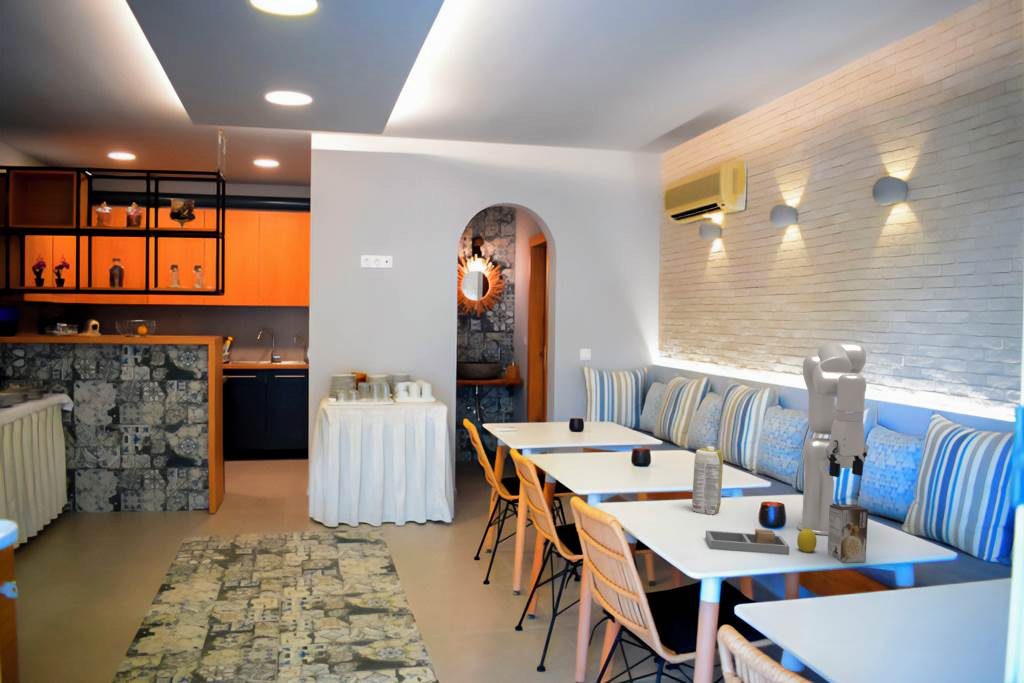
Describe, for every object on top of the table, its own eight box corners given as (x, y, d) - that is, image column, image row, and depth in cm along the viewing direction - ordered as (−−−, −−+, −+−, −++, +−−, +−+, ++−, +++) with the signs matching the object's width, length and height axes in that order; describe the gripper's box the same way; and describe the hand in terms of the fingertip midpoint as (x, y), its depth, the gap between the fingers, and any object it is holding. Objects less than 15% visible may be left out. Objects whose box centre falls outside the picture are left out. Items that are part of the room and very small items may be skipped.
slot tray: (705, 541, 258) (705, 530, 258) (779, 546, 256) (780, 535, 255) (710, 552, 246) (711, 540, 246) (788, 558, 244) (789, 546, 243)
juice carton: (721, 512, 299) (725, 447, 298) (714, 516, 292) (718, 449, 291) (697, 508, 304) (700, 444, 303) (689, 511, 297) (693, 446, 296)
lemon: (811, 551, 252) (812, 526, 251) (818, 557, 246) (820, 530, 246) (793, 551, 252) (795, 525, 251) (800, 556, 246) (802, 530, 246)
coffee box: (851, 555, 249) (855, 503, 249) (866, 562, 243) (869, 508, 243) (826, 556, 247) (829, 504, 246) (839, 563, 241) (843, 509, 240)
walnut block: (754, 544, 253) (755, 528, 253) (770, 545, 252) (771, 530, 252) (757, 549, 248) (758, 533, 248) (774, 550, 247) (775, 534, 247)
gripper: (858, 415, 244) (855, 471, 245) (818, 416, 236) (814, 474, 237) (880, 418, 238) (876, 476, 238) (839, 419, 230) (836, 479, 230)
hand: (845, 475), depth 238 cm, fingers open, 9 cm apart
